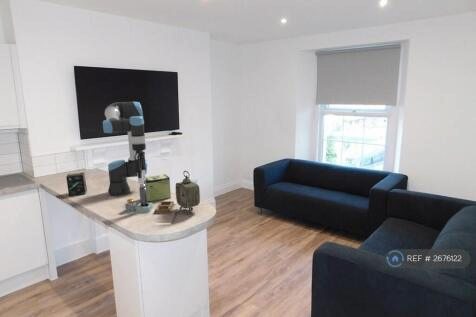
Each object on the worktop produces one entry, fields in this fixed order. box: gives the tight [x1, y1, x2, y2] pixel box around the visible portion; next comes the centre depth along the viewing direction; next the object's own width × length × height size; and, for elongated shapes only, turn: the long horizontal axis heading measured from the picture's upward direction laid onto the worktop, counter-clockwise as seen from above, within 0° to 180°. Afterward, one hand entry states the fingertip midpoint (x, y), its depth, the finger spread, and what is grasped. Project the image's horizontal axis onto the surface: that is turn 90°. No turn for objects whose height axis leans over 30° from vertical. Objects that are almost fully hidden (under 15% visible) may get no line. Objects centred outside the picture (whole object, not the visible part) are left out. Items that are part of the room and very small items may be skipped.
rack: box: [153, 200, 176, 215], centre depth 193 cm, size 16×10×3 cm, turn 1°
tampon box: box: [65, 171, 88, 197], centre depth 229 cm, size 11×9×15 cm
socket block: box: [124, 201, 155, 215], centre depth 192 cm, size 12×15×5 cm
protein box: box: [143, 173, 172, 203], centre depth 213 cm, size 10×16×16 cm
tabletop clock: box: [175, 170, 201, 215], centre depth 190 cm, size 14×9×25 cm, turn 37°
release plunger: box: [126, 198, 135, 205], centre depth 191 cm, size 4×4×5 cm
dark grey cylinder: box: [138, 183, 149, 207], centre depth 191 cm, size 4×4×16 cm
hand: (142, 181), depth 189 cm, fingers open, 5 cm apart
